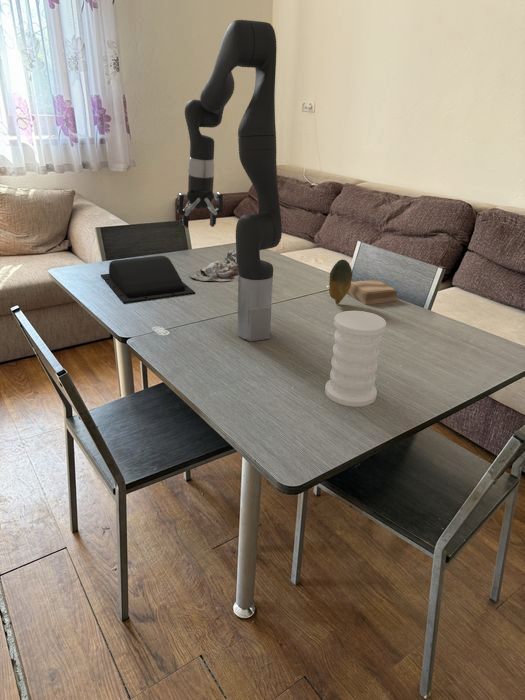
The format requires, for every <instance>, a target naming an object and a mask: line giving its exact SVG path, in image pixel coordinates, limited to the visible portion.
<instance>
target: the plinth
mask: <svg viewBox="0 0 525 700" xmlns="http://www.w3.org/2000/svg"><path fill="white" fill-rule="evenodd" d="M397 294H398V291H397V290H396V289H395V288H394V287H392V286H390V285H388V284H386V283H384V282H383V281H380V280H378V279H370V280H369V279H368V280H360V281H359V280H358V281H351V287H350V289H349V291H348V292H347V295H349V296H351V297H352V298H353V299H356V300H357V301H359V302H360V303H361V304H364V305H374V304H382V303H383V304H384V303H390V302H392V303H393V302H396V300H397Z"/></svg>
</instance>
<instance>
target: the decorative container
mask: <svg viewBox="0 0 525 700" xmlns="http://www.w3.org/2000/svg"><path fill="white" fill-rule="evenodd" d="M333 321H334V322H333V326H334V327H335V328H336V330H335V331H334V335H333V336H334V341H335V343H334V344H333V346H332V352H333V356H332V358H331V362H330V363H331V367H332V368H331V370H330V372H329V377H330V378H329V380H327V381H326V383H325V387H324V388H325V389H324V393H325V395H326V397H327V398H328V399H330V400H331V401H332V402H334V403H336V404H338V405H342V406H345V407H353V408H355V407H356V408H357V407H358V408H359V407H365V406H369V405H371V404H372V403H374V402H375V401H376V398H377V395H378V391H377V388H376V386H375V384H376V372H377V370H378V367H379V366H378V360H379V358H380V352H381V351H380V346H381V345H382V341H383V337H382V334H383V333H385V331H386V329H387V328H386V327H387V322H386V320H385V319H384V318H383V317H381V315H378V314H376V313H372V312H369V311H362V310H346V311H341V312H339V313H337V314H335V316H334V320H333Z"/></svg>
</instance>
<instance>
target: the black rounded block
mask: <svg viewBox="0 0 525 700" xmlns="http://www.w3.org/2000/svg"><path fill="white" fill-rule="evenodd" d="M100 278H102V280H103V281H104V280H105V281H104V282H105V284H106V285H107V286H109V288H110V289H111V290H112V292H113V293H114V294H115V295H116V297H118V299H119V300H120V301H121V302H122V303H123V304H131V303H139V302H147V301H153V300H161V299H168V298H174V297H175V296H176V297H182V296H189V294H190V295H194V294H196V292H195V291H194V290H193V289H192V288H191V287H190V286H189V285H187V284H186V283H184V281H182V280H183V279H181V276H180V275H179V273H178V271H177V269H176V268H175V266H174V265H173V263H172V261H171V259H170V258H169V257H167V256H165V255H156V256H145V257H136V258H134V257H133V258H125V259H124V258H123V259H114V260H111V261H110V262H109V265H108V273H105V274H100Z"/></svg>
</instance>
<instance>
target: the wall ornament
mask: <svg viewBox="0 0 525 700" xmlns="http://www.w3.org/2000/svg"><path fill="white" fill-rule="evenodd" d="M234 257H235V258H234ZM223 261H224V263H222V262H221V261H219V260H217V261H211V262H210V263H209V264H207V265H206V266H202V267H200V268H199V269H195V270H193V273H195V274H194V275H193V273H190V274H189V275H188V278H190V279H194V280H197V281H202V282H205V281H206V282H208V281H210V282H211V281H214V282H227V281H232V282H233V281H236V282H237V281H238V276H239V270H238V265H237V261H236V250H233V249H231V250H228V251H227V253H226V256H225V257H224V260H223ZM230 261H232V262H233V263H231V262H230ZM234 263H235V264H234ZM199 270H200V271H199ZM202 272H203V273H204V274H205V275H203V274H202ZM230 278H232V279H230Z"/></svg>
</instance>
